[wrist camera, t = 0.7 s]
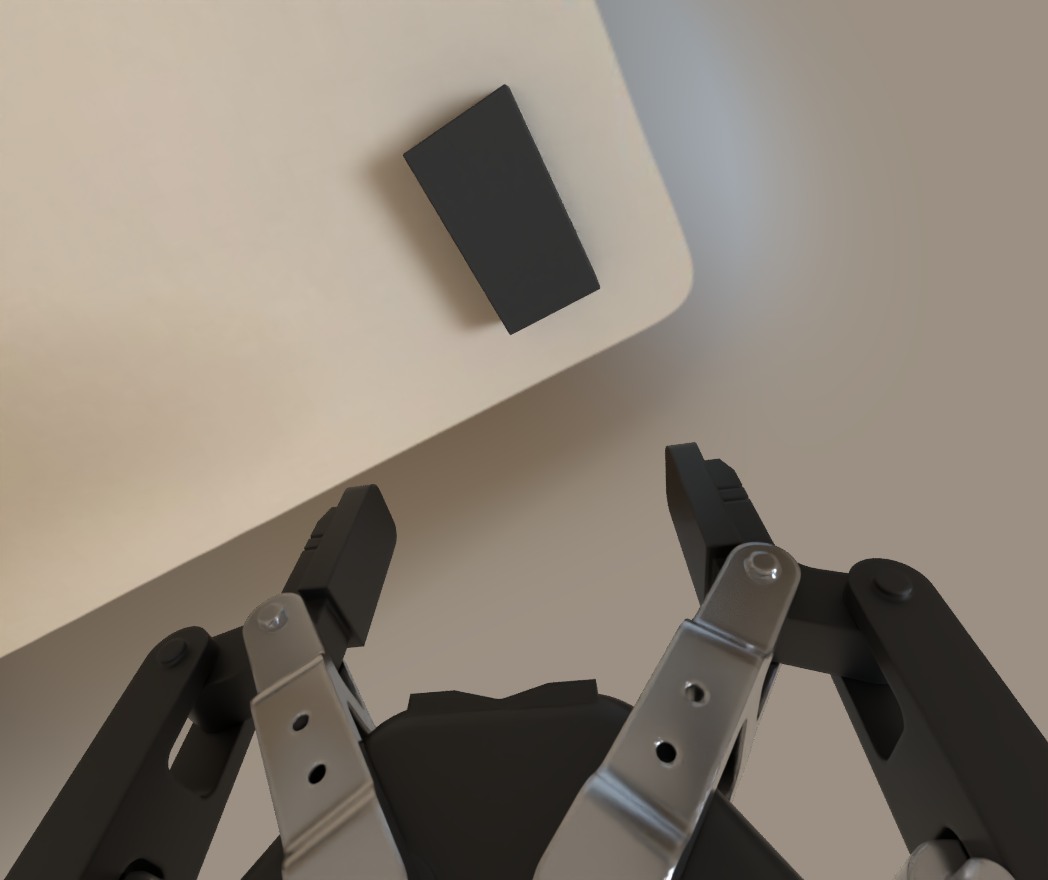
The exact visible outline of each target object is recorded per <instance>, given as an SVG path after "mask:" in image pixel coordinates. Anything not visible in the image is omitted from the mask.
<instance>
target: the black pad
mask: <svg viewBox="0 0 1048 880" xmlns="http://www.w3.org/2000/svg"><path fill="white" fill-rule="evenodd" d="M403 157H404V158H405V160H406V162H407V163H408V165H409V167H410V168H411V170H412V172H413V173H414V175H415V177H416V178H417V180H418V182H419V183H420V185H421V187H422V188H423V190H424V192H425V193H426V195H427V197H428V199H429V200H430V202H431V204H432V205H433V207H434V209H435V210H436V212H437V214H438V215H439V217H440V219H441V220H442V222H443V224H444V225H445V227H446V229H447V230H448V232H449V234H450V235H451V237H452V239H453V240H454V242H455V244H456V245H457V247H458V249H459V250H460V252H461V254H462V255H463V257H464V259H465V260H466V262H467V264H468V266H469V267H470V269H471V271H472V272H473V274H474V276H475V277H476V279H477V281H478V282H479V284H480V286H481V287H482V289H483V291H484V292H485V294H486V296H487V297H488V299H489V301H490V302H491V304H492V306H493V307H494V309H495V311H496V312H497V314H498V316H499V317H500V319H501V321H502V322H503V324H504V326H505V327H506V329H507V331H508V332H509V334H510V335H512V334H514V333H516V332H518V331H519V330H521V329H523V328H525V327H527V326H529V325H531V324H533V323H535V322H537V321H539V320H541V319H543V318H544V317H546V316H548V315H550V314H552V313H554V312H556V311H558V310H560V309H562V308H564V307H566V306H568V305H569V304H571V303H573V302H575V301H577V300H579V299H581V298H583V297H585V296H587V295H589V294H591V293H593V292H594V291H596V290H598V289H600V285H599V283H598V280H597V277H596V274H595V272H594V270H593V268H592V266H591V264H590V261H589V259H588V257H587V255H586V253H585V251H584V248H583V246H582V244H581V242H580V240H579V238H578V235H577V233H576V231H575V229H574V227H573V225H572V222H571V220H570V218H569V216H568V214H567V212H566V210H565V207H564V205H563V203H562V201H561V199H560V197H559V194H558V192H557V190H556V188H555V186H554V184H553V181H552V179H551V177H550V175H549V173H548V171H547V168H546V166H545V164H544V162H543V160H542V158H541V155H540V153H539V151H538V149H537V147H536V145H535V142H534V140H533V138H532V136H531V134H530V132H529V129H528V127H527V125H526V123H525V121H524V119H523V116H522V114H521V112H520V110H519V108H518V106H517V104H516V101H515V99H514V97H513V95H512V93H511V91H510V88H509V87H508V86H507V85H503V86H501V87H500V88H498V89H497V90H496V91H494V92H493V93H491V94H490V95H488V96H487V97H485V98H484V99H483V100H481V101H480V102H478V103H477V104H475V105H474V106H472V107H471V108H469V109H468V110H467V111H465V112H464V113H462V114H461V115H459V116H458V117H456V118H455V119H453V120H452V121H451V122H449V123H448V124H446V125H445V126H443V127H442V128H440V129H439V130H438V131H436V132H435V133H433V134H432V135H430V136H429V137H427V138H426V139H424V140H423V141H422V142H420V143H419V144H417V145H416V146H414V147H413V148H411V149H410V150H408V151H407V152H406V153H404V154H403Z"/></svg>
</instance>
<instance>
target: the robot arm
mask: <svg viewBox="0 0 1048 880" xmlns="http://www.w3.org/2000/svg"><path fill="white" fill-rule="evenodd" d="M665 459H666V460H665V461H666V494H667V502H668V506H669V511H670V514H671V517H672V521H673V524H674V526H675V530H676V533H677V536H678V539H679V542H680V545H681V548H682V551H683V554H684V557H685V560H686V563H687V566H688V570H689V573H690V576H691V579H692V582H693V585H694V588H695V591H696V594H697V597H698V600H699V603H700V608H699V610H698V612H697V614H696V615H695V617H694V618H693V619H692V620H690V619H685V620H684V621H683V622H682V623H681V625H680V626H679V628H678V629H677V631H676V633H675V635H674V636H673V638H672V640H671V642H670V644H669V645H668V647H667V649H666V651H665V653H664V654H663V656H662V658H661V660H660V661H659V663H658V665H657V667H656V669H655V670H654V672H653V674H652V676H651V678H650V679H649V681H648V683H647V685H646V686H645V688H644V690H643V692H642V693H641V695H640V697H639V699H638V700H637V702H636V704H635V706H634V707H633V706H632V705H630V704H628V703H626V702H624V701H621V700H619V699H616V698H613V697H610V696H607V695H602V694H598V690H597V684H596V679H592V680H578V681H566V682H553V683H547V684H544V685H541V686H538V687H535V688H532V689H529V690H527V691H524V692H521V693H518V694H515V695H512V696H509V697H506V698H503V699H494V698H490V697H485V696H480V695H475V694H470V693H464V692H460V691H455V690H454V691H442V692H429V693H417V694H410V699H409V704H408V708H407V710H406V711H403V712H401V713H399V714H397V715H395V716H393V717H391V718H389V719H388V720H386V721H385V722H383V723H382V724H380V725H379V726H378V727H376V726H375V724H374V722H373V720H372V719H371V717H370V714H369V712H368V710H367V708H366V706H365V703H364V701H363V699H362V697H361V695H360V693H359V690H358V688H357V686H356V684H355V682H354V679H353V677H352V675H351V673H350V671H349V669H348V666H347V664H346V663H345V661H344V660H343V657H344V655H345V652H346V649H347V648H351V647H361V646H364V645H365V641H366V638H367V635H368V632H369V629H370V625H371V622H372V618H373V616H374V612H375V609H376V606H377V602H378V600H379V596H380V593H381V590H382V587H383V584H384V580H385V577H386V574H387V570H388V568H389V564H390V561H391V558H392V555H393V551H394V548H395V545H396V538H397V535H396V527H395V523H394V521H393V519H392V516H391V514H390V512H389V510H388V507H387V505H386V503H385V501H384V499H383V496H382V494H381V492H380V490H379V488H378V487H377V486H376V485H375V484H370V485H363V486H355V487H349V488H347V489H346V490H345V492H344V494H343V496H342V498H341V500H340V502H339V504H338V506H337V507H332V508H331V509H330V510H329V511H328V512H327V513H326V514H325V515H324V516H323V517H322V518H321V519H320V520H319V521H318V522H317V524H316V526H315V529H314V530H313V532H312V534H311V539H309V540H308V542H307V544H306V546H305V548H304V549H305V551H303V552H302V554H301V556H300V558H299V559H298V562H297V563H296V565H295V567H294V570H293V571H292V573H291V575H290V577H289V579H288V581H287V583H286V585H285V587H284V589H283V591H282V593H281V594H278V595H276V596H273V597H271V598H269V599H267V600H266V601H264V602H263V603H261V604H260V605H259V606H258V607H256V609H254V610H253V611H252V613H251V614H250V615H249V616H248V618H247V619H246V621H245V623H244V625H243V626H241V627H238V628H236V629H233V630H231V631H228V632H225V633H222V634H220V635H217V636H214V637H211V636H210V635H209V634H208V633H207V632H206V631H205V630H204V629H203V628H201V627H196V626H192V627H187V628H184V629H181V630H178V631H176V632H174V633H173V634H171V635H169V636H168V637H166V638H165V639H163V640H162V641H161V642H160V643H159V644H158V645H156V646H155V647H154V648H153V650H152V651H151V652H150V653H149V654H148V656H147V657H146V659H145V660H144V662H143V663H142V665H141V666H140V668H139V670H138V671H137V673H136V674H135V676H134V677H133V679H132V680H131V682H130V684H129V685H128V687H127V689H126V690H125V692H124V693H123V695H122V696H121V698H120V699H119V701H118V702H117V704H116V705H115V707H114V709H113V711H112V712H111V713H110V715H109V716H108V718H107V720H106V721H105V723H104V724H103V726H102V727H101V729H100V731H99V732H98V734H97V735H96V737H95V738H94V740H93V741H92V743H91V745H90V746H89V748H88V749H87V751H86V753H85V754H84V755H83V757H82V759H81V760H80V762H79V763H78V765H77V766H76V768H75V770H74V771H73V773H72V774H71V776H70V777H69V779H68V781H67V782H66V784H65V785H64V787H63V788H62V790H61V791H60V793H59V795H58V796H57V798H56V799H55V801H54V802H53V804H52V806H51V807H50V809H49V810H48V812H47V813H46V815H45V816H44V818H43V820H42V821H41V823H40V824H39V826H38V827H37V829H36V831H35V832H34V834H33V835H32V837H31V838H30V840H29V842H28V843H27V845H26V846H25V848H24V849H23V851H22V852H21V854H20V856H19V857H18V859H17V860H16V862H15V864H14V865H13V866H12V868H11V870H10V871H9V873H8V875H7V876H6V878H5V879H4V880H196V879H197V877H198V874H199V872H200V869H201V867H202V864H203V862H204V859H205V856H206V854H207V851H208V849H209V846H210V844H211V841H212V839H213V836H214V833H215V831H216V828H217V826H218V823H219V821H220V818H221V815H222V813H223V810H224V808H225V805H226V803H227V800H228V798H229V795H230V793H231V790H232V787H233V785H234V782H235V780H236V777H237V775H238V772H239V769H240V767H241V764H242V762H243V759H244V757H245V754H246V752H247V749H248V747H249V744H250V741H251V739H252V736H253V734H254V731H255V730H256V734H257V738H258V742H259V746H260V751H261V755H262V759H263V763H264V768H265V772H266V777H267V780H268V785H269V789H270V794H271V798H272V802H273V806H274V811H275V815H276V819H277V823H278V828H279V832H280V835H279V836H278V837H277V838H276V840H275V841H274V842H273V843H272V844H271V845H270V846H269V848H268V849H267V850H266V851H265V852H264V853H263V854H262V856H261V857H260V858H259V859H258V860H257V861H256V863H255V864H254V865H253V866H252V867H251V868H250V869H249V871H248V872H247V873H246V874H245V875H244V876H243V877H242V879H241V880H804V879H802V877H801V876H800V875H799V874H798V873H797V872H796V871H795V870H794V869H793V868H792V867H791V866H790V865H789V864H788V863H787V861H786V860H785V859H784V858H783V857H782V856H781V855H780V854H779V853H778V852H777V851H776V850H775V849H774V848H773V847H772V846H771V845H770V844H769V842H768V841H767V840H766V839H765V838H764V837H763V836H762V835H761V834H760V833H759V832H758V831H757V830H756V829H755V828H754V827H753V826H752V825H751V824H750V822H749V821H748V820H747V819H746V818H745V817H744V816H743V815H742V814H741V813H740V812H739V811H738V810H737V809H736V808H735V807H734V805H733V804H732V801H733V799H734V796H735V794H736V791H737V788H738V785H739V783H740V780H741V777H742V774H743V772H744V769H745V766H746V763H747V761H748V758H749V754H750V751H751V748H752V744H753V740H754V737H755V734H756V731H757V728H758V725H759V723H760V720H761V717H762V715H763V712H764V709H765V707H766V704H767V702H768V699H769V696H770V694H771V691H772V688H773V686H774V683H775V680H776V678H777V675H778V673H779V670H780V667H781V664H786V665H791V666H796V667H800V668H804V669H809V670H814V671H818V672H823V673H828V674H830V675H831V677H832V679H833V682H834V684H835V686H836V688H837V691H838V693H839V695H840V697H841V700H842V702H843V704H844V706H845V709H846V711H847V713H848V715H849V718H850V720H851V722H852V724H853V727H854V729H855V731H856V733H857V735H858V738H859V740H860V742H861V745H862V747H863V749H864V751H865V754H866V756H867V758H868V760H869V763H870V765H871V767H872V769H873V772H874V774H875V776H876V778H877V781H878V783H879V785H880V787H881V790H882V792H883V794H884V796H885V799H886V801H887V803H888V805H889V808H890V810H891V812H892V815H893V817H894V819H895V821H896V824H897V826H898V828H899V830H900V833H901V835H902V837H903V839H904V841H905V844H906V846H907V848H908V851H909V853H910V856H909V858H908V859H907V860H906V862H905V863H904V864H903V866H902V867H901V868H900V870H899V871H898V872H897V873H896V875H895V876H894V878H893V880H1048V742H1047V741H1046V739H1045V738H1044V736H1043V735H1042V734H1041V732H1040V731H1039V729H1038V728H1037V727H1036V725H1035V724H1034V723H1033V721H1032V720H1031V719H1030V717H1029V716H1028V715H1027V713H1026V712H1025V711H1024V709H1023V708H1022V706H1021V705H1020V703H1019V702H1018V701H1017V699H1016V698H1015V697H1014V695H1013V694H1012V693H1011V691H1010V690H1009V688H1008V687H1007V686H1006V684H1005V683H1004V682H1003V680H1002V679H1001V677H1000V676H999V675H998V674H997V672H996V671H995V669H994V668H993V667H992V665H991V664H990V662H989V661H988V660H987V658H986V657H985V656H984V654H983V653H982V652H981V650H980V649H979V647H978V646H977V645H976V643H975V642H974V641H973V639H972V638H971V636H970V635H969V634H968V633H967V631H966V630H965V628H964V627H963V626H962V624H961V623H960V622H959V620H958V619H957V617H956V616H955V615H954V613H953V612H952V611H951V609H950V608H949V606H948V605H947V604H946V602H945V601H944V600H943V598H942V597H941V595H940V594H939V593H938V591H937V590H936V589H935V587H934V586H933V585H932V583H931V582H930V581H929V580H928V579H927V578H926V577H925V576H923V575H922V574H921V573H920V572H918V571H916V570H915V569H913V568H911V567H910V566H907V565H905V564H903V563H900V562H897V561H893V560H889V559H881V558H872V559H866V560H862V561H860V562H858V563H856V564H855V565H854V566H852V568H851V569H850V571H849V573H843V572H835V571H829V570H822V569H816V568H811V567H808V566H804V565H802V564H799V563H797V561H796V560H795V559H794V558H793V557H792V556H791V555H790V554H789V553H788V552H786V551H785V550H783V549H781V548H779V547H777V546H775V544H774V543H773V541H772V539H771V538H770V536H769V534H768V532H767V530H766V528H765V526H764V525H763V523H762V521H761V519H760V517H759V515H758V513H757V512H756V510H755V508H754V506H753V504H752V502H751V501H750V499H749V498H748V495H747V493H746V491H745V490H744V488H743V487H742V484H741V482H740V480H739V478H738V476H737V474H736V473H735V471H734V470H733V469H732V468H731V467H729V466H728V465H727V464H726V463H724V462H723V461H722V460H720V459H713V460H704V459H703V456H702V454H701V452H700V450H699V448H698V446H697V444H696V443H695V442H693V443H685V444H678V445H671V446H666V449H665ZM187 718H189V719H190V720H191V721H192V722H193V724H192V726H191V728H190V730H189V732H188V734H187V736H186V738H185V740H184V742H183V744H182V746H181V748H180V750H179V752H178V754H177V757H176V758H175V760H174V762H173V764H172V766H171V769H170V770H169V768H168V759H169V754H170V751H171V749H172V747H173V745H174V743H175V741H176V739H177V737H178V735H179V733H180V731H181V729H182V727H183V725H184V724H185V722H186V720H187Z"/></svg>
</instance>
